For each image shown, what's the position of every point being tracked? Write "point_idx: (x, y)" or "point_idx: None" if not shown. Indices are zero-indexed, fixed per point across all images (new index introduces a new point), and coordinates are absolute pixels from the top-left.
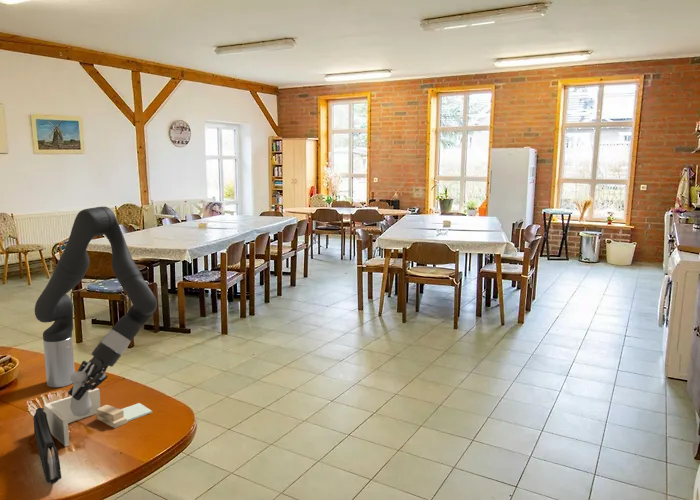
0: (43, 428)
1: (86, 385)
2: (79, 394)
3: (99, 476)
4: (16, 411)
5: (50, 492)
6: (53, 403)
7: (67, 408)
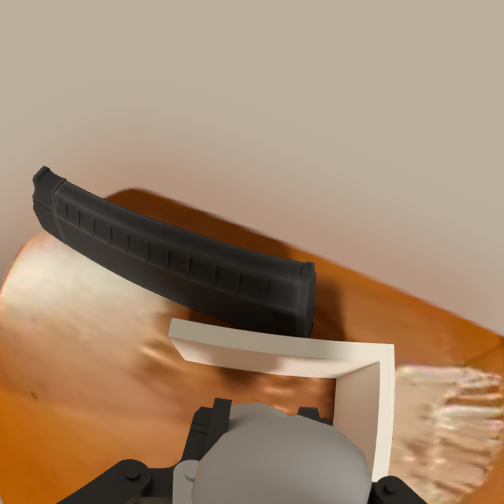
0: (157, 227)
1: (133, 466)
2: (192, 426)
3: (15, 299)
4: (475, 343)
5: None
6: (379, 375)
7: (356, 430)
